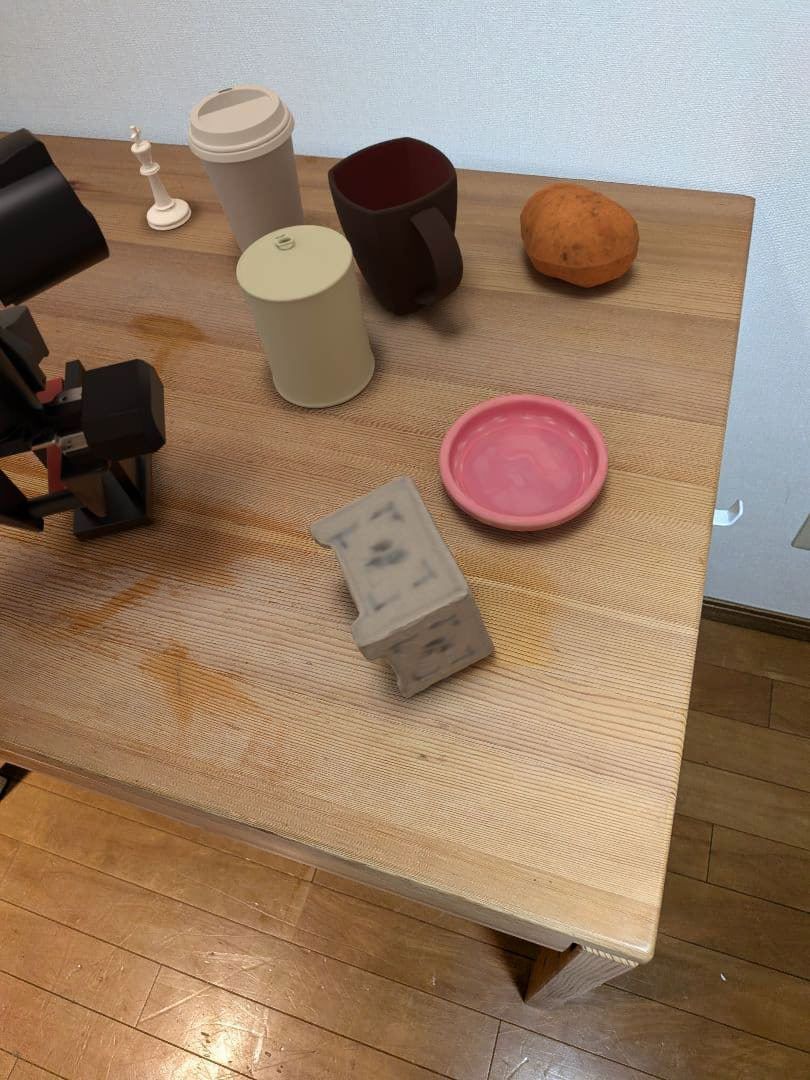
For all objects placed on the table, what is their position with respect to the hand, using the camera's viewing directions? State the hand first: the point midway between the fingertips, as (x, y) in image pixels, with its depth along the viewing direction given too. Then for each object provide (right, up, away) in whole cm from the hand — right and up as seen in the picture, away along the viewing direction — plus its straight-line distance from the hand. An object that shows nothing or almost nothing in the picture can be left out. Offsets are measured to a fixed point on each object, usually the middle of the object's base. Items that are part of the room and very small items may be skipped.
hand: (72, 519), depth 51 cm
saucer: (+32, +3, +6) cm, 33 cm away
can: (+16, +14, +15) cm, 26 cm away
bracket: (-1, +3, +10) cm, 11 cm away
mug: (+24, +21, +19) cm, 37 cm away
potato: (+39, +25, +19) cm, 50 cm away
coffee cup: (+10, +28, +25) cm, 39 cm away
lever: (-1, +4, +2) cm, 5 cm away
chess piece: (-3, +35, +32) cm, 47 cm away
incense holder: (+23, -8, 0) cm, 25 cm away
